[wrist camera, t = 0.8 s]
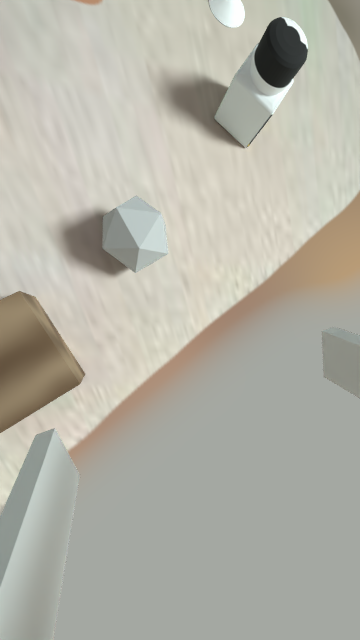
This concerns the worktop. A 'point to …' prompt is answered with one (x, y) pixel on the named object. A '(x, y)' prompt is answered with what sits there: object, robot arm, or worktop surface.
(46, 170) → the worktop surface
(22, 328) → the walnut block
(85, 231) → the worktop surface
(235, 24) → the champagne flute
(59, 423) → the worktop surface
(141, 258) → the die
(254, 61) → the medicine bottle
